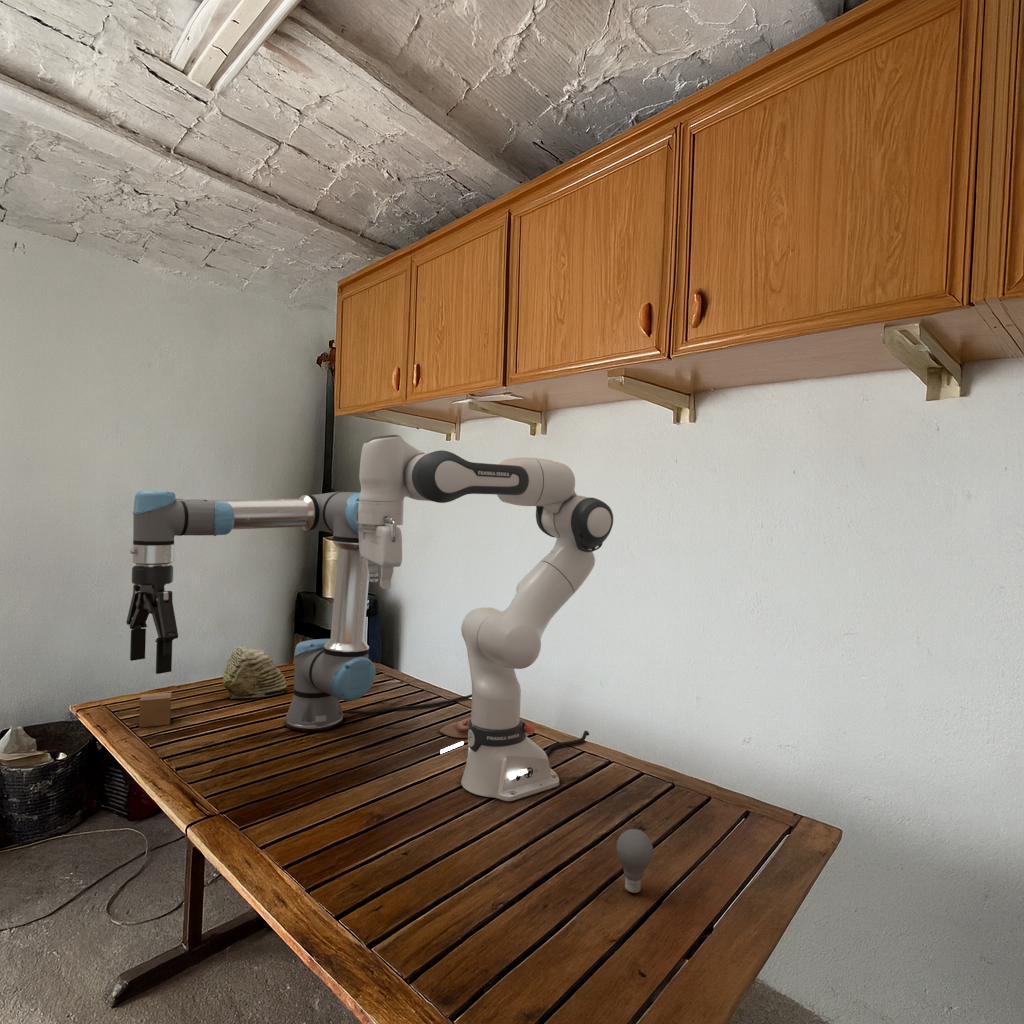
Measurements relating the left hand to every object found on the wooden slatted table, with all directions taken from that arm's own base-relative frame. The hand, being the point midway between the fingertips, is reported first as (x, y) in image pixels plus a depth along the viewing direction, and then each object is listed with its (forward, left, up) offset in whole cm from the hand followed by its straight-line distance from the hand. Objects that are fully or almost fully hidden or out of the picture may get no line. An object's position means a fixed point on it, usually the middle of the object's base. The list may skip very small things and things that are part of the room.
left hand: (150, 665), depth 132 cm
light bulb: (-39, +93, -26) cm, 104 cm away
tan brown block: (-17, -39, -26) cm, 50 cm away
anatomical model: (-73, +24, -26) cm, 81 cm away
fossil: (-48, -44, -26) cm, 70 cm away
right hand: (-26, +41, +20) cm, 52 cm away
